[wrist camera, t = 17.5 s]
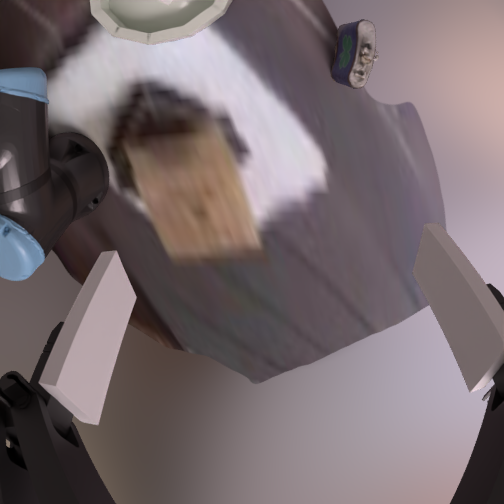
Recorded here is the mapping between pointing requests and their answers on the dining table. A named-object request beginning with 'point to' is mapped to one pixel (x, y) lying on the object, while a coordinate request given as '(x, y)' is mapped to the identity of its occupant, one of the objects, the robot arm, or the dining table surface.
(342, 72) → the flask
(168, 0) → the milk
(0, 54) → the dining table surface
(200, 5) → the bowl
